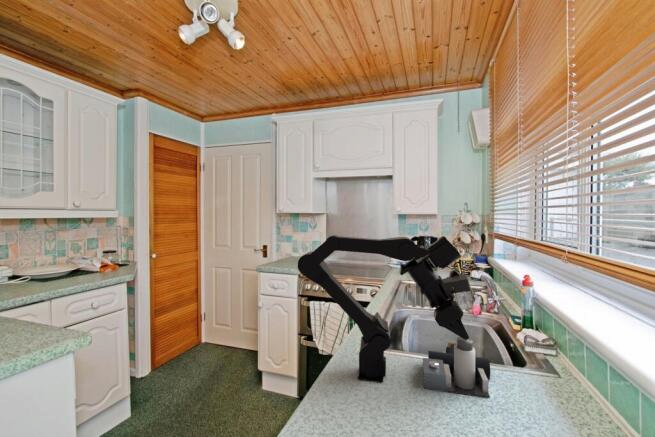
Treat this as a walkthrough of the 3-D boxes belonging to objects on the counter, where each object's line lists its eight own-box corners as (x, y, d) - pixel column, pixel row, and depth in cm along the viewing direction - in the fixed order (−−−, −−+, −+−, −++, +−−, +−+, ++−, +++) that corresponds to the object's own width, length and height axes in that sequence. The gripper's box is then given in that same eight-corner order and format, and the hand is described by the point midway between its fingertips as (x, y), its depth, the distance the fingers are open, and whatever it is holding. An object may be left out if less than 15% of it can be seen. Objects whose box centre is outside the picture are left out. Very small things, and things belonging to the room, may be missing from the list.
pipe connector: (428, 337, 94) (483, 344, 89) (428, 354, 94) (482, 362, 90) (428, 355, 83) (490, 363, 78) (428, 374, 83) (490, 384, 79)
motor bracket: (424, 388, 76) (424, 369, 76) (422, 372, 83) (422, 354, 83) (489, 398, 72) (490, 377, 72) (482, 380, 80) (482, 361, 79)
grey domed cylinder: (458, 389, 75) (458, 343, 74) (451, 378, 79) (451, 335, 79) (478, 389, 74) (478, 344, 74) (470, 378, 79) (470, 336, 79)
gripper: (461, 271, 69) (504, 330, 67) (448, 255, 87) (482, 302, 85) (418, 297, 71) (459, 354, 70) (414, 276, 89) (447, 322, 88)
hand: (463, 330), depth 78 cm, fingers open, 9 cm apart
